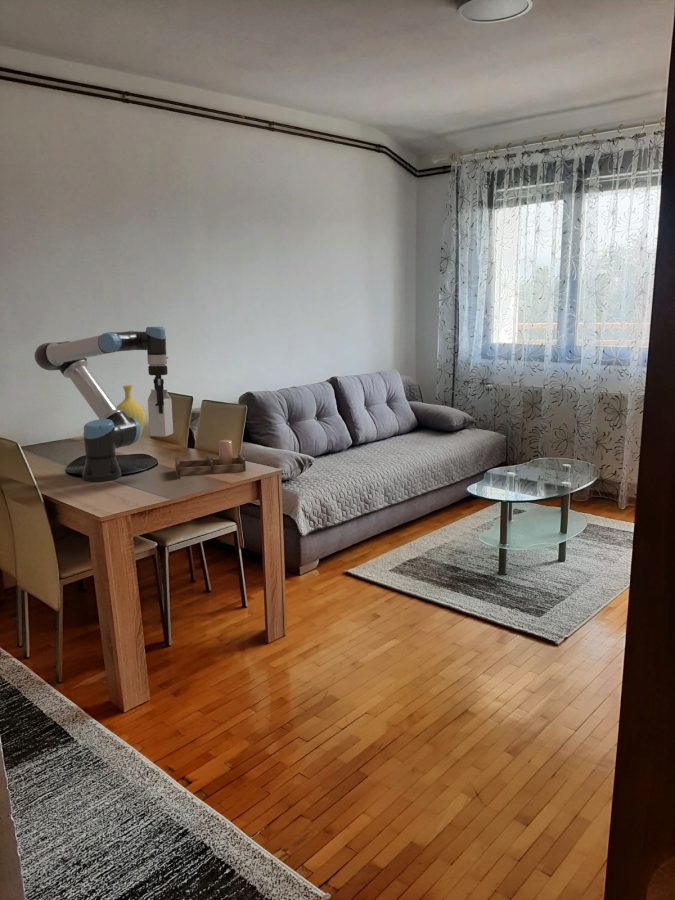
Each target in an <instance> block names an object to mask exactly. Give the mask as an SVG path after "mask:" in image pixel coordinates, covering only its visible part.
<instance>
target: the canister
mask: <svg viewBox="0 0 675 900" xmlns="http://www.w3.org/2000/svg"><path fill="white" fill-rule="evenodd" d="M218 454H219V455H218V457H219V458H218V459H219V465H232V464H233V460H232V458H233V441H232V440H231V439H221V440H218Z"/></svg>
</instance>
